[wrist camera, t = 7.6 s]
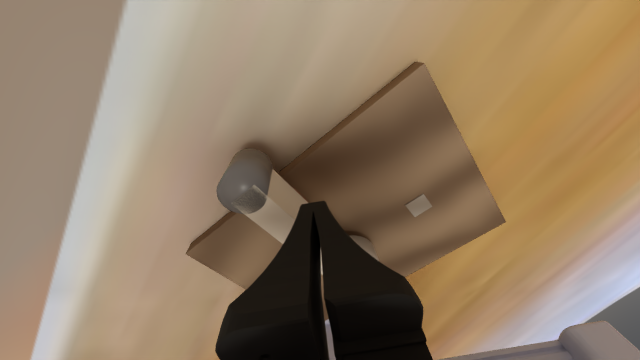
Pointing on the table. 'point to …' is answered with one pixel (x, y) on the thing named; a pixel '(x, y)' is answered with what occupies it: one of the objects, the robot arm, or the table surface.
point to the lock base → (376, 186)
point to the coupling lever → (265, 196)
